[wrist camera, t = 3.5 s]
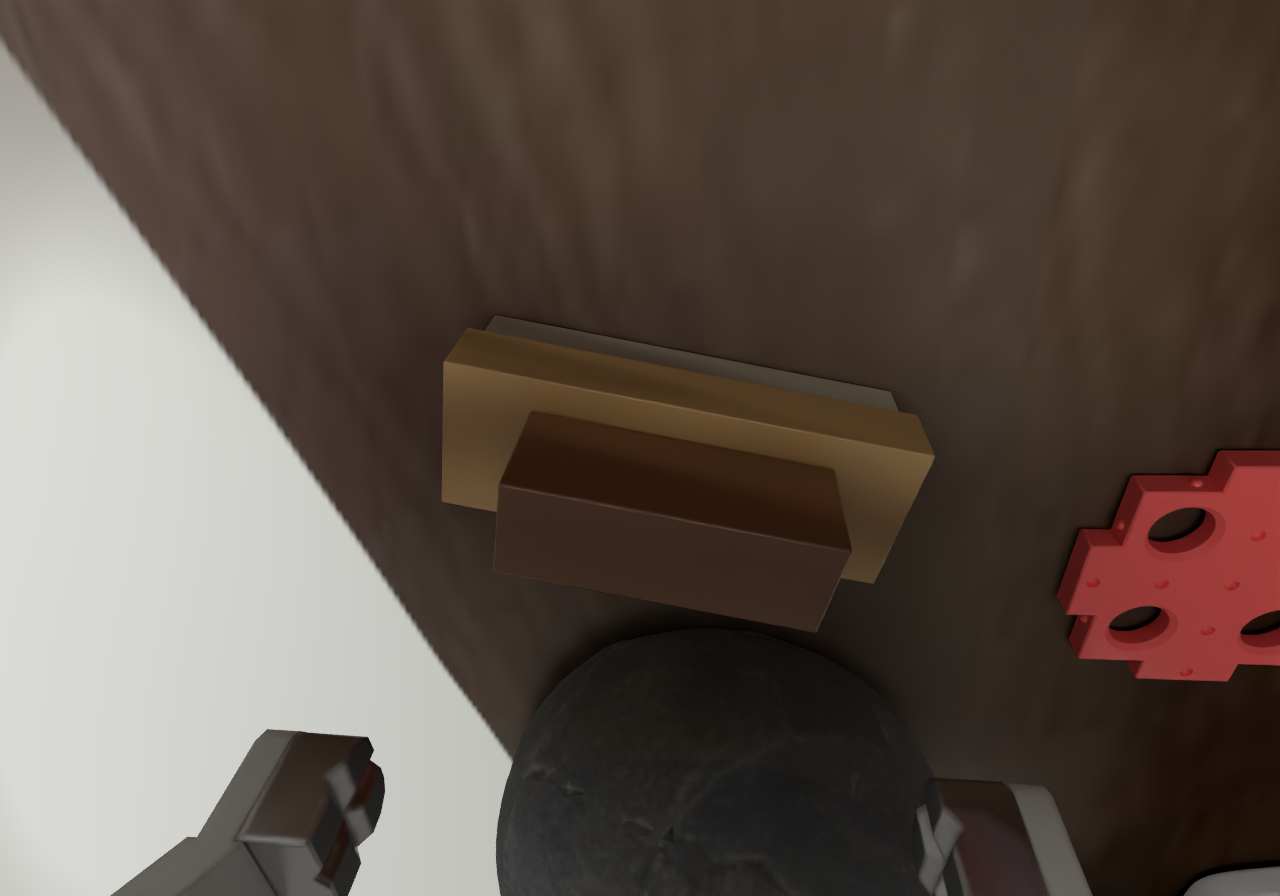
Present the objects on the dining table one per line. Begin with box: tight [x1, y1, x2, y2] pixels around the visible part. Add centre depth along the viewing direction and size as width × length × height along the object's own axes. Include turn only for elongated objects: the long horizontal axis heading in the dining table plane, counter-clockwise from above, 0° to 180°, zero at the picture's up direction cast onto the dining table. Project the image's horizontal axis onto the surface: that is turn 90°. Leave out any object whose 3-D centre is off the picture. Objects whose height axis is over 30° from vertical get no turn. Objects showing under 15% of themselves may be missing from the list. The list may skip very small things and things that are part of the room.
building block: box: [1057, 450, 1280, 681], centre depth 20 cm, size 1×8×8 cm
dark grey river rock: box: [496, 628, 936, 896], centre depth 23 cm, size 15×15×10 cm
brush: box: [442, 315, 935, 633], centre depth 17 cm, size 4×11×6 cm, turn 81°
